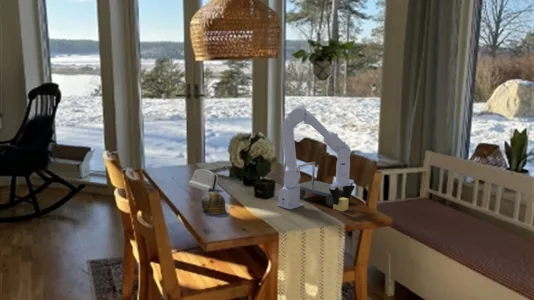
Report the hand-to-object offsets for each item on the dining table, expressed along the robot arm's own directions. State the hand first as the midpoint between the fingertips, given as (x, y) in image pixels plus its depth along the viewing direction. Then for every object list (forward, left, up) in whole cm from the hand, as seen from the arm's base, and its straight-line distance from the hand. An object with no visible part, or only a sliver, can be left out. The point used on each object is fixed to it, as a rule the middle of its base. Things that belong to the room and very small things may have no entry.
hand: (341, 202), depth 218 cm
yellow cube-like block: (0, 0, -3) cm, 3 cm away
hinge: (-22, +69, -3) cm, 72 cm away
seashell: (-44, +35, -3) cm, 56 cm away
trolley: (+6, +15, -3) cm, 16 cm away
